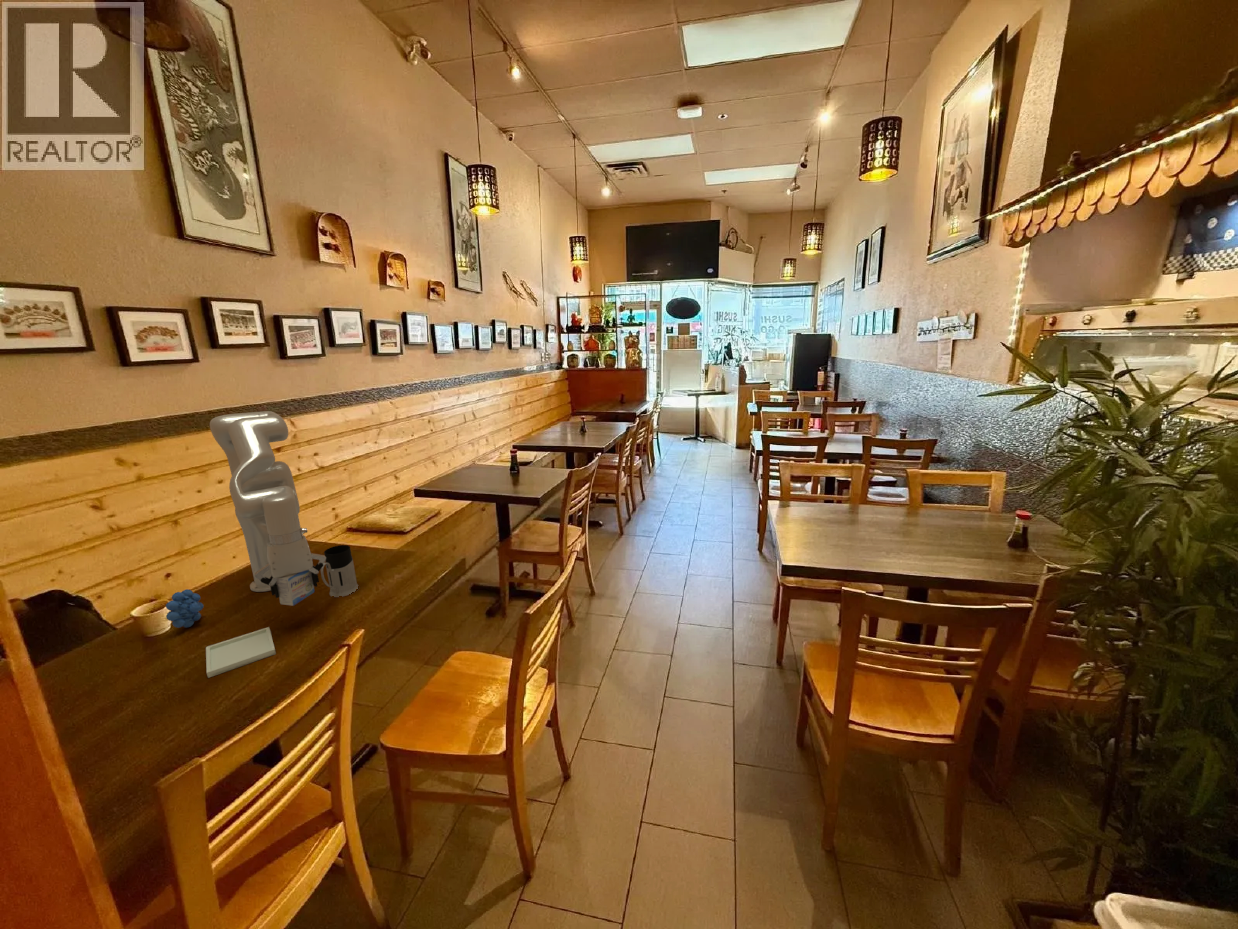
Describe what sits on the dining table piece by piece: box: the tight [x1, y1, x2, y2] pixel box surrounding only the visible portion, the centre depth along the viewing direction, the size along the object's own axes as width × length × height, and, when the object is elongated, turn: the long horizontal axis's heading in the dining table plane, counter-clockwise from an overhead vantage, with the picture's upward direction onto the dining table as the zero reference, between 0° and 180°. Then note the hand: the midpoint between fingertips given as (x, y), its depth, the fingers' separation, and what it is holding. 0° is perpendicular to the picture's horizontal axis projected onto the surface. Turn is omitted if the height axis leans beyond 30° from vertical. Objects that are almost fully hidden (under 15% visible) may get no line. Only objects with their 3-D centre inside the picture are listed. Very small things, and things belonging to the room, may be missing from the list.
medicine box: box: [276, 570, 316, 607], centre depth 137 cm, size 8×4×9 cm, turn 168°
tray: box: [205, 626, 277, 679], centre depth 127 cm, size 14×14×2 cm
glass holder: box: [320, 544, 359, 598], centre depth 155 cm, size 9×14×15 cm, turn 2°
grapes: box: [165, 588, 205, 629], centre depth 138 cm, size 12×7×12 cm, turn 6°
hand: (296, 590), depth 137 cm, fingers closed on medicine box, 9 cm apart
